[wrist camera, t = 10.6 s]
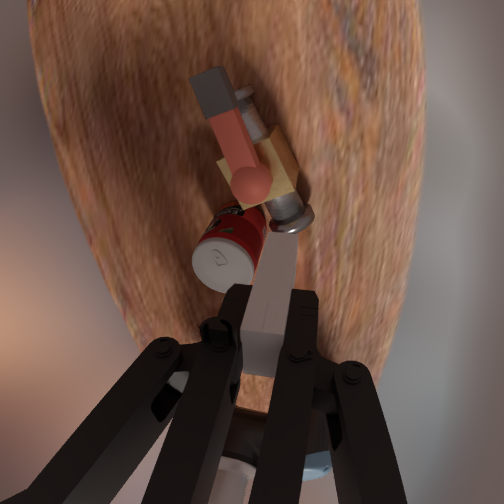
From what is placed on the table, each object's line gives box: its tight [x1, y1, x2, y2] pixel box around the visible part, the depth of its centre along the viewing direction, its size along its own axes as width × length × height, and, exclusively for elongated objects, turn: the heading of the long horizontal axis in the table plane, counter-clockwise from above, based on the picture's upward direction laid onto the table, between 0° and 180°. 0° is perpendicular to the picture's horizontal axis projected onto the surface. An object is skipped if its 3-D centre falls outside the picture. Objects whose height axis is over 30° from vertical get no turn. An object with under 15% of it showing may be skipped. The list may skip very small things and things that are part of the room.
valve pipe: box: [216, 84, 315, 234], centre depth 37 cm, size 18×6×9 cm, turn 27°
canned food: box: [192, 201, 267, 293], centre depth 42 cm, size 8×8×11 cm
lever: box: [189, 66, 273, 205], centre depth 30 cm, size 14×4×2 cm, turn 21°
